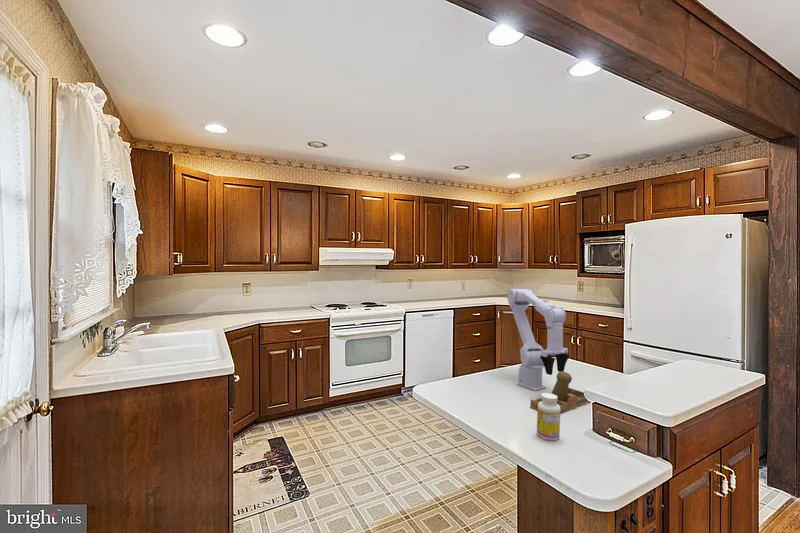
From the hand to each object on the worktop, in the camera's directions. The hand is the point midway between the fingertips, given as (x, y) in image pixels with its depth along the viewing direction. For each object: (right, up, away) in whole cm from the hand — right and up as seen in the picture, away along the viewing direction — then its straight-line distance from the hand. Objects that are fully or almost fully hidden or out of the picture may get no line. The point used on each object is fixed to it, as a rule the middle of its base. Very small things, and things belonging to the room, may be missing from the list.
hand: (554, 373), depth 145 cm
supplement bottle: (-15, -11, -30) cm, 36 cm away
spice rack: (0, -11, -6) cm, 12 cm away
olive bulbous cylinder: (-1, -9, -5) cm, 10 cm away
